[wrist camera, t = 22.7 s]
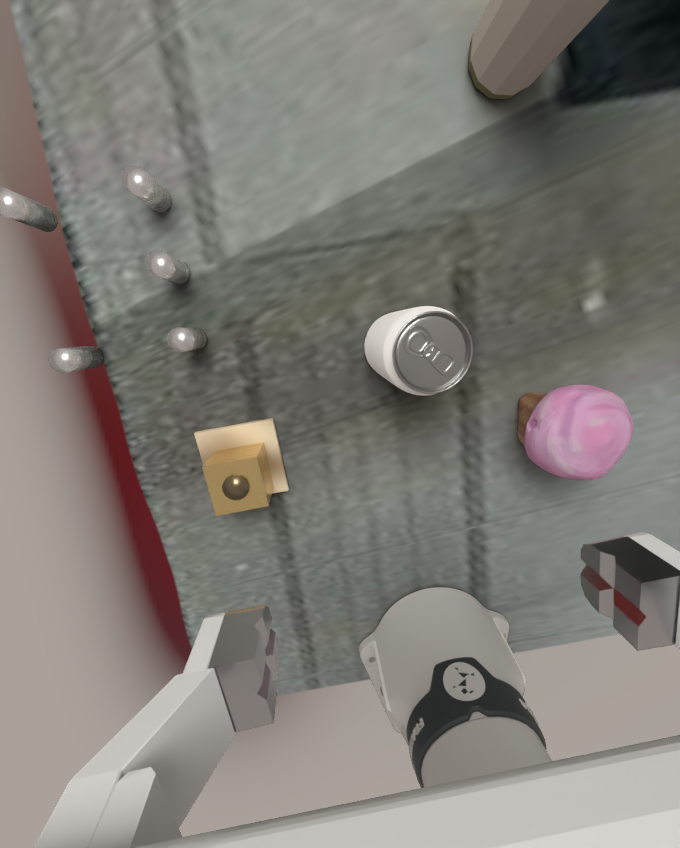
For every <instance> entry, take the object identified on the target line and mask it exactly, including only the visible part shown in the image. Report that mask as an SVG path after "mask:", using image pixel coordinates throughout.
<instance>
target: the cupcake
mask: <svg viewBox="0 0 680 848" xmlns="http://www.w3.org/2000/svg"><path fill="white" fill-rule="evenodd" d="M518 417H519V423H518V437H519V440H520V441H521V443H522V444H523V445H524V446H525V450H526V453H527V455H528V457H529V458H530V459H531V461H533V462H534V463H535V464H537V465H538V466H539V467H541V468H542V469H543V470H545V471H547V472H548V473H551V474H553V475H555V476H558V477H562V478H567V479H576V480H593V479H597V478H600V477H602V476H603V475H604V474H606V473H607V472H609V471H610V469H611V468H612V467H613V466H614V465H615V464H616V463H617V462H618V461H619V460H620V458H621V457H622V456H623V454H624V453H625V451H626V449H627V447H628V445H629V442H630V440H631V437H632V434H633V421H632V417H631V415H630V412H629V410H628V408H627V406H626V404H625V403H624V402H623V401H622V399H621V398H620V397H619V396H618V395H616V394H614V393H612V392H610V391H607V390H604V389H601V388H598V387H595V386H589V385H571V386H564V387H558V388H555V389H553V390H552V391H550V392H548V393H527V394H525V395H523V396H522V397H521V398H520V400H519V405H518Z"/></svg>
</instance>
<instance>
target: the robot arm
mask: <svg viewBox="0 0 680 848" xmlns="http://www.w3.org/2000/svg"><path fill="white" fill-rule="evenodd" d="M581 559H582V560H583V562H584V563H585V564H586V566H585V568H584V569H583V571H582V572H581V586H582V589H583V591H584V594H585V596H586V598H587V599H588V601H589V602H590V604H591V605H592V606H593V607H594V608H595V609H596V610H597V611H598V612H599V613H601V614H603V615H605V616H607V617H610V618H612V619H613V626H614V628H615V629H616V630H617V631H618V632H619V633H620V634H621V635H622V636H623V637H624V638H625V639H626V640H627V641H628V642H629V643H630V644H631V645H632V646H633V647H634V648H635V649H636V650H637V651H639V650H646V649H651V648H657V647H664V646H670V645H675V647H677V648H679V649H680V552H679V551H677V550H675V549H674V548H672V547H670V546H669V545H667V544H665V543H664V542H662V541H660V540H659V539H657V538H655V537H654V536H652V535H650V534H648V533H644V532H639V533H635V534H630V535H625V536H622V537H618V538H613V539H608V540H603V541H598V542H593V543H588V544H584V545H583V547H582V549H581ZM271 620H272V617H271V614H270V610H269V607H268V606H266V605H264V606H258V607H252V608H246V609H240V610H234V611H228V612H224V613H218V614H213V615H208V616H207V617H206V618H205V619H204V620H203V622H202V625H201V628H200V630H199V633H198V635H197V638H196V641H195V643H194V646H193V648H192V651H191V653H190V656H189V659H188V661H187V664H186V666H185V669H184V672H183V674H179V675H176V676H175V677H174V678H173V679H172V680H171V681H170V682H169V683H168V684H167V685H166V686H165V687H164V688H163V689H162V690H161V691H160V692H159V693H158V694H157V695H156V696H155V697H154V698H153V699H152V700H151V701H150V702H149V703H148V704H147V705H146V706H145V707H144V708H143V709H142V710H141V711H140V712H139V713H138V714H137V715H136V716H135V717H134V718H133V719H132V720H131V721H130V722H129V723H128V724H127V725H126V726H125V727H124V728H123V729H122V730H121V731H120V732H119V733H118V734H117V735H116V736H115V737H114V738H113V739H112V740H111V741H110V742H109V743H108V744H107V745H106V746H105V747H104V748H103V749H101V750H100V751H99V753H97V755H96V756H94V757H93V758H92V760H91V761H90V762H88V763H87V764H86V765H85V766H84V767H83V768H82V769H81V770H80V771H79V772H78V773H77V774H76V775H75V776H74V777H73V778H72V779H71V780H70V782H69V784H68V786H67V787H66V789H65V791H64V793H63V795H62V797H61V798H60V800H59V802H58V804H57V806H56V808H55V809H54V811H53V813H52V815H51V817H50V819H49V821H48V822H47V824H46V826H45V828H44V830H43V831H42V833H41V835H40V837H39V839H38V841H37V843H36V844H35V846H34V848H680V735H678V736H673V737H668V738H663V739H658V740H654V741H649V742H644V743H639V744H634V745H629V746H625V747H620V748H615V749H610V750H605V751H601V752H596V753H591V754H586V755H581V756H576V757H572V758H567V759H562V760H557V761H552V760H551V758H550V756H549V755H548V753H547V751H546V743H545V739H544V737H543V734H542V732H541V730H540V728H539V725H538V722H537V720H536V719H535V716H534V715H533V713H532V711H531V709H530V708H529V707H528V706H527V704H526V703H525V701H524V699H523V695H524V690H525V686H524V685H525V684H526V678H525V676H524V674H523V672H522V670H521V668H520V666H519V664H518V662H517V660H516V658H515V656H514V654H513V653H512V651H511V649H510V647H509V645H508V643H507V638H508V632H509V624H508V622H507V620H506V618H505V617H504V616H503V615H501V614H499V613H497V612H494V611H491V610H488V609H486V608H485V607H484V606H482V605H481V604H480V603H479V602H478V601H477V600H476V599H475V598H474V597H472V596H471V595H469V594H467V593H465V592H463V591H460V590H457V589H453V588H446V587H434V588H427V589H423V590H419V591H416V592H414V593H411V594H409V595H407V596H405V597H404V598H402V599H400V600H399V601H398V602H396V603H395V604H394V605H393V606H392V607H391V608H390V609H389V610H388V611H387V612H386V614H385V615H384V616H383V618H382V620H381V621H380V623H379V625H378V627H377V628H376V630H375V631H374V632H373V633H372V634H370V635H369V636H368V637H367V638H366V639H364V640H363V641H362V642H361V644H360V645H359V648H358V649H359V653H360V657H361V659H362V662H363V664H364V666H365V668H366V670H367V672H368V674H369V677H370V679H371V681H372V683H373V685H374V687H375V690H376V692H377V694H378V696H379V698H380V700H381V702H382V705H383V707H384V709H385V711H386V713H387V715H388V717H389V720H390V722H391V724H392V726H393V728H394V730H395V731H396V732H399V733H402V735H403V737H404V738H405V740H406V742H407V744H408V746H409V751H410V752H409V753H410V757H411V761H412V765H413V768H414V770H415V773H416V776H417V779H418V782H419V784H420V786H421V788H420V789H415V790H411V791H405V792H400V793H396V794H391V795H386V796H382V797H376V798H371V799H366V800H362V801H357V802H352V803H348V804H342V805H337V806H332V807H328V808H323V809H318V810H313V811H308V812H303V813H298V814H294V815H289V816H284V817H279V818H274V819H269V820H265V821H259V822H255V823H250V824H245V825H240V826H235V827H230V828H225V829H221V830H216V831H211V832H206V833H201V834H196V835H191V836H187V837H182V835H181V833H180V830H179V827H180V825H181V824H182V822H183V821H184V819H185V817H186V816H187V814H188V812H189V811H190V809H191V807H192V806H193V804H194V803H195V800H196V799H197V798H198V796H199V794H200V793H201V791H202V789H203V788H204V786H205V784H206V783H207V781H208V779H209V778H210V776H211V775H212V773H213V771H214V770H215V768H216V766H217V765H218V763H219V761H220V760H221V758H222V757H223V755H224V753H225V752H226V750H227V748H228V747H229V745H230V743H231V742H232V740H233V739H234V737H235V735H236V734H235V732H239V731H243V730H248V729H252V728H256V727H260V726H265V725H269V724H273V723H274V714H275V705H276V696H277V693H276V690H275V686H274V681H275V680H276V679H277V677H278V676H279V665H280V663H279V646H278V640H277V636H276V633H275V632H274V631H273V630H272V629H270V627H271ZM371 657H372V658H371Z"/></svg>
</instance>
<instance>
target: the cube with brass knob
mask: <svg viewBox="0 0 680 848" xmlns="http://www.w3.org/2000/svg"><path fill="white" fill-rule="evenodd" d="M202 468H203V472H204V475H205V479H206V482H207V486H208V489H209V492H210V496H211V499H212V503H213V506H214V510H215V513H216V516H218V515H223V514H229V513H234V512H240V511H245V510H251V509H256V508H261V507H267V506H269V503H270V499H271V495H272V492H273V488H274V485H273V481H272V476H271V472H270V468H269V464H268V459H267V455H266V451H265V446H264V442H262V443H256V444H251V445H245V446H240V447H234V448H229V449H223V450H217V451H215V452H214V453H213V454H212V455H211V457H210V458H209V459H208V460H207V462H206V463H205V464H204V465H203V467H202Z"/></svg>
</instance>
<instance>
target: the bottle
mask: <svg viewBox="0 0 680 848" xmlns="http://www.w3.org/2000/svg"><path fill="white" fill-rule="evenodd" d="M608 1H609V0H490V2H489V4H488V6H487V8H486V10H485V12H484V14H483V16H482V18H481V20H480V22H479V24H478V26H477V27H476V29H475V31H474V33H473V35H472V39H471V43H470V50H469V61H468V68H469V71H470V74H471V76H472V79H473V82H474V85H475V87H476V88H478V89H479V90H480V91H481V92H482V93H484V94H485V95H486V96H487V97H489V98H491V99H509V98H511V97H512V96H514V95H516V94H517V93H519V92H521V91H522V90H524V89H525V88H527V87H528V86H530V85H531V84H532V83H533V82H534V81H535V80H536V79H537V78H538V77H539V76H540V74H541V73H542V72H543V71H544V70H545V69H546V68H547V67H548V66H549V65H550V64H551V63H552V61H553V60H554V59H555V58H556V57H557V56H558V55H559V54H560V53H561V52H562V51H563V50H564V49H565V47H566V46H567V45H568V44H569V43H570V42H571V41H572V40H573V39H574V38H575V37H576V36H577V35H578V33H579V32H580V31H581V30H582V29H583V28H584V27H585V26H586V25H587V24H588V23H589V22H590V21H591V19H592V18H593V17H594V16H595V15H596V14H597V13H598V12H599V11H600V10H601V9H602V8H603V6H604V5H605V4H606V3H607V2H608Z"/></svg>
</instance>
